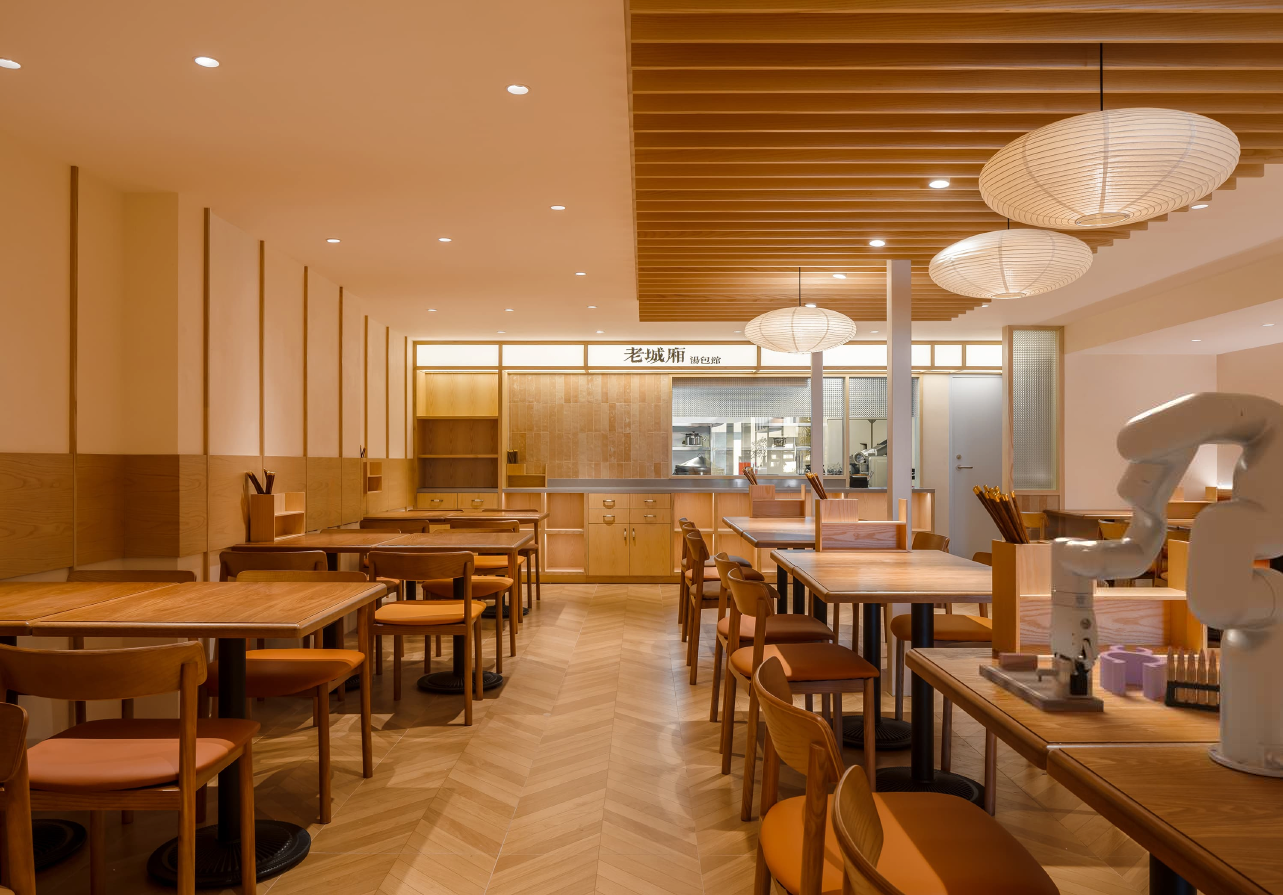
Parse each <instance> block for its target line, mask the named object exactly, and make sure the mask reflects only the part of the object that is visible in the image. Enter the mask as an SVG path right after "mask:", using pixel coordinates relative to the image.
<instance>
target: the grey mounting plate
mask: <svg viewBox="0 0 1283 895" xmlns="http://www.w3.org/2000/svg"><path fill="white" fill-rule="evenodd" d="M1038 660H1039V656H1038V654H1036V653H1034V652H1031V653H1030V652H1029V653H1028V652H1022V653H1021V652H998V664H979V665H978V666H979V668H978V669H979V671H978V673H979V675H981V676H982V677H984V678H986V679H988V681H990V682H992V683H995V684H996V685H998V686H1000V687H1001V688H1003V689H1004V690H1006V691H1008V692H1010V693H1011V694H1013V695H1014V696H1017V697H1019V698H1020V699H1021V700H1023V701H1025V702H1027V703H1029V704H1030V705H1032V706H1034V707H1036V708H1037V709H1038V710H1041V711H1042V712H1054V711H1055V712H1104V710H1105V708H1104V704H1105V701H1104V700H1103V699H1100V698H1099V697H1097V696H1094V695H1093V697H1092V698H1062V697H1060V696H1058V695H1057V694H1055V693H1053V692H1052V676H1042V682H1038V676H1037V675H1036V669H1037V668H1038V666H1039V663H1038V662H1039V661H1038Z"/></svg>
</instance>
